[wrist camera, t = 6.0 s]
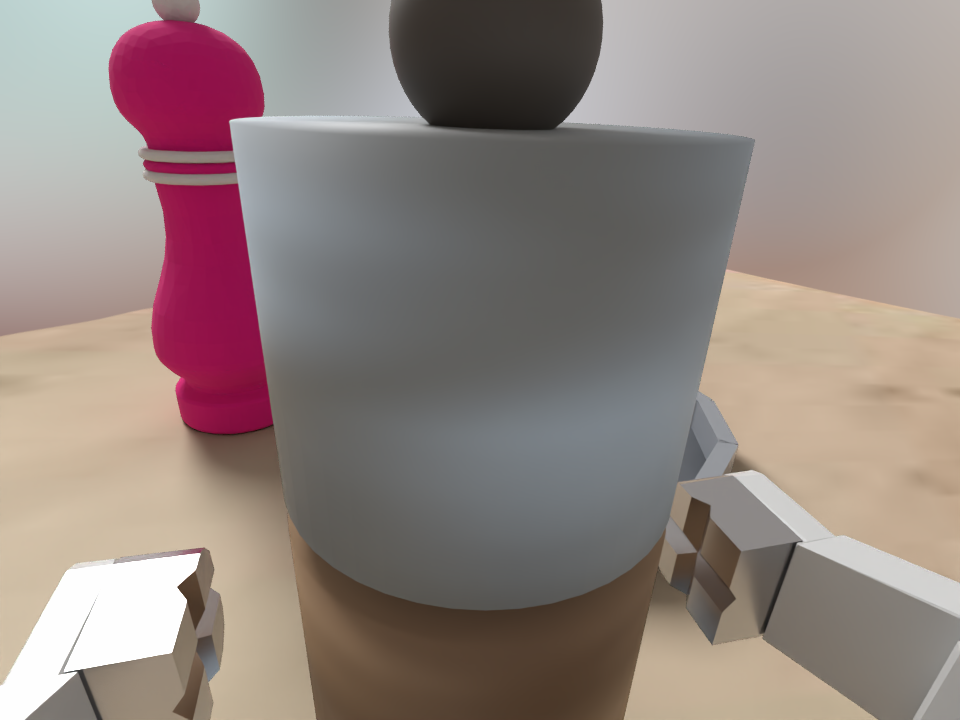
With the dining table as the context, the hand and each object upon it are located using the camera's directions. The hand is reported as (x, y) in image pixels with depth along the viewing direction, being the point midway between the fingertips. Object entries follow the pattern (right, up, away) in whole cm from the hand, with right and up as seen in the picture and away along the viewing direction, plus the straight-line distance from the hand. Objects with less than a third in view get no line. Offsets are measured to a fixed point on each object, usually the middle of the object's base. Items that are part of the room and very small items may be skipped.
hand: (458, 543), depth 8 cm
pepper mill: (-13, 0, +23) cm, 26 cm away
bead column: (0, -9, +3) cm, 10 cm away
